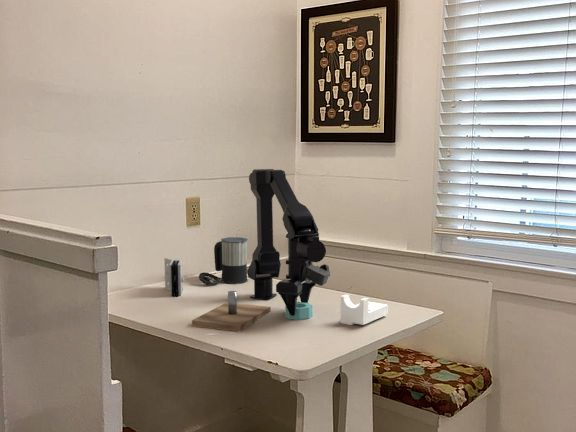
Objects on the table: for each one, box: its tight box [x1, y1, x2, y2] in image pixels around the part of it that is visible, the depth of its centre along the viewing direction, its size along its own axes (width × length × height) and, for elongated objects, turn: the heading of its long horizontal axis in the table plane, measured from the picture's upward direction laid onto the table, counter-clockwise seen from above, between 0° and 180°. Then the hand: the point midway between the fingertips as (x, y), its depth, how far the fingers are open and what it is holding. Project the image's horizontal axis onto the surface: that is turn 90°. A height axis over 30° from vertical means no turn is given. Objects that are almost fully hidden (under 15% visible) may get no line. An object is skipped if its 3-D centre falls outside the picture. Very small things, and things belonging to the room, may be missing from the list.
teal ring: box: [284, 301, 313, 321], centre depth 181 cm, size 7×7×3 cm
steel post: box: [227, 290, 238, 315], centre depth 178 cm, size 2×2×6 cm
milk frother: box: [198, 236, 249, 286], centre depth 222 cm, size 14×16×15 cm
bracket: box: [340, 294, 389, 326], centre depth 177 cm, size 13×7×8 cm, turn 142°
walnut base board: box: [191, 301, 272, 332], centre depth 179 cm, size 20×14×2 cm
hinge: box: [164, 257, 184, 298], centre depth 210 cm, size 14×5×10 cm, turn 18°
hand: (298, 311), depth 181 cm, fingers open, 9 cm apart
